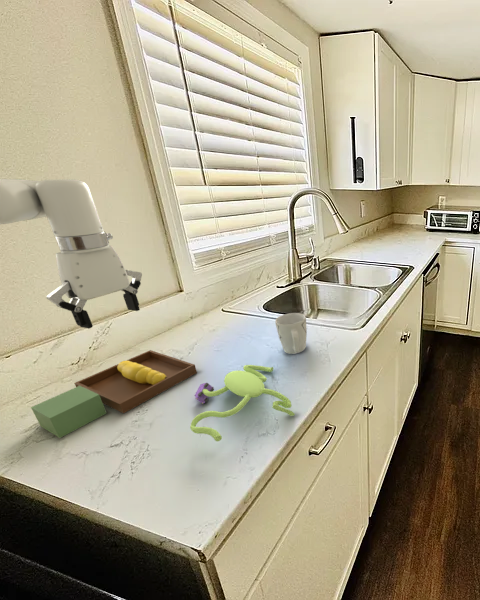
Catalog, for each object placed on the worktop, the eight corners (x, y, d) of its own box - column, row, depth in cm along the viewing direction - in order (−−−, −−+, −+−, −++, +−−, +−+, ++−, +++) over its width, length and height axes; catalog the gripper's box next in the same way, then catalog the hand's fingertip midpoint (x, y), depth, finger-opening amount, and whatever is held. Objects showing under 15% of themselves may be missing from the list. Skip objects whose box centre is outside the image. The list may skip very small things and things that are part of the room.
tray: (78, 392, 79) (74, 383, 78) (153, 357, 94) (150, 349, 93) (123, 413, 72) (119, 404, 71) (197, 372, 86) (194, 364, 85)
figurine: (197, 464, 59) (189, 440, 57) (192, 388, 80) (187, 369, 78) (299, 424, 68) (295, 402, 66) (271, 365, 89) (267, 347, 87)
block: (40, 426, 68) (30, 407, 66) (87, 403, 75) (79, 385, 73) (59, 438, 65) (49, 418, 63) (106, 413, 72) (99, 394, 70)
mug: (314, 356, 93) (310, 325, 89) (283, 364, 90) (278, 331, 86) (306, 339, 103) (302, 310, 99) (278, 346, 99) (273, 316, 96)
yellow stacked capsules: (110, 375, 84) (107, 361, 83) (129, 368, 88) (127, 355, 87) (151, 392, 77) (149, 377, 76) (170, 384, 81) (168, 369, 80)
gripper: (116, 235, 76) (139, 302, 82) (16, 250, 61) (53, 332, 67) (139, 236, 74) (160, 306, 80) (40, 253, 58) (76, 337, 65)
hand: (111, 318), depth 73 cm, fingers open, 9 cm apart
